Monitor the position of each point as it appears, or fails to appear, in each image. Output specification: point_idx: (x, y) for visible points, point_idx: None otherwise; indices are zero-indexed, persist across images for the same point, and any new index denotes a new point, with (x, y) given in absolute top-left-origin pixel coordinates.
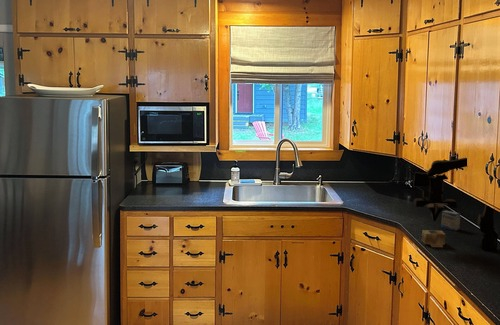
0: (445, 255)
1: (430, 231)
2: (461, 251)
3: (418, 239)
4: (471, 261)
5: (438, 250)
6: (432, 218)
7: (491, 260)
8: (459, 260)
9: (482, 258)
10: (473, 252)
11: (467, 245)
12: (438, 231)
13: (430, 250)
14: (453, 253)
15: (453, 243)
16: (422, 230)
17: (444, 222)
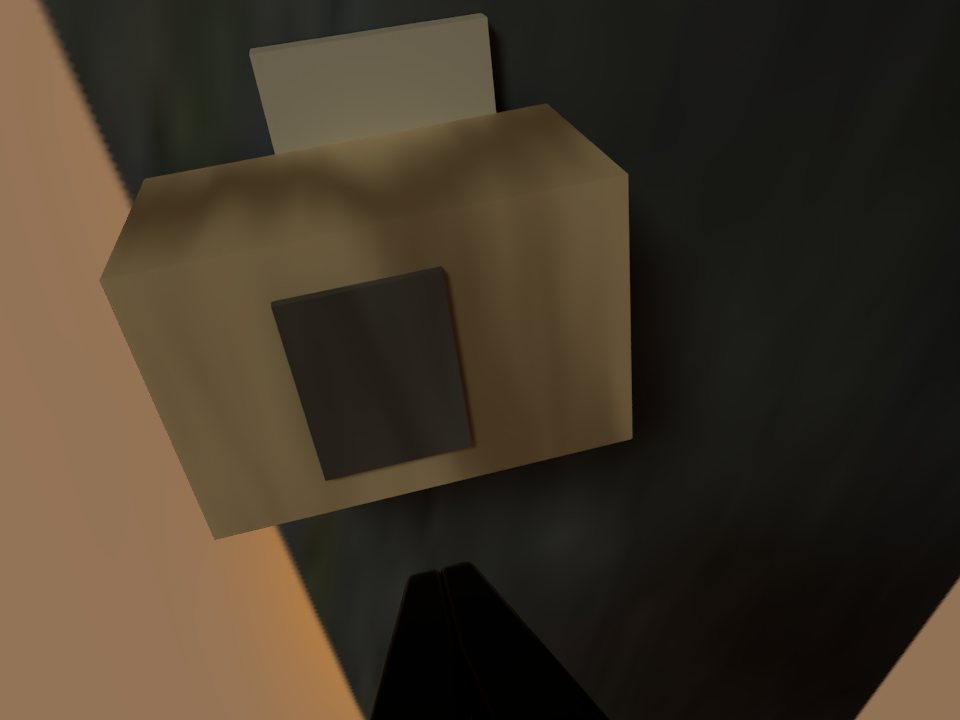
0: None
1: (326, 377)
2: (723, 465)
3: (58, 10)
4: (704, 696)
5: (428, 526)
6: (396, 654)
7: (906, 612)
8: None
9: (850, 594)
10: (854, 453)
11: (931, 173)
12: (530, 278)
13: (316, 560)
14: (598, 562)
15: (750, 120)
16: (107, 297)
17: None
